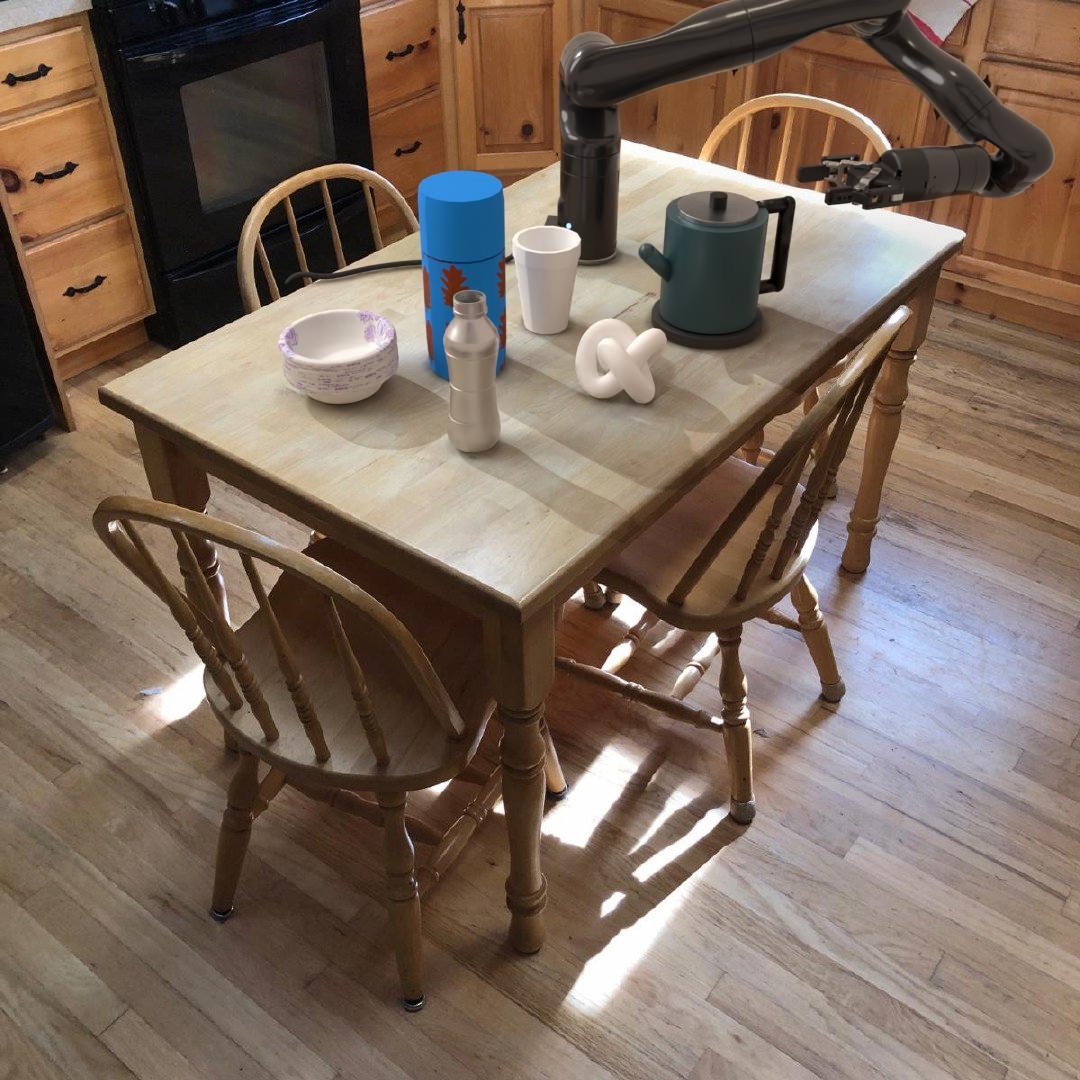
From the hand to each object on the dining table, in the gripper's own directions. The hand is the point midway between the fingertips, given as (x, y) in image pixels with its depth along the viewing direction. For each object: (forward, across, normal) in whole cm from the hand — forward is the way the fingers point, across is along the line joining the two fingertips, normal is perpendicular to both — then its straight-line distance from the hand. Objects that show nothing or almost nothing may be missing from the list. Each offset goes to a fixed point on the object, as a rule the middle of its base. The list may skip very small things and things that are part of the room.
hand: (812, 185), depth 163 cm
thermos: (+50, +2, +20) cm, 54 cm away
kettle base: (+14, 0, +19) cm, 24 cm away
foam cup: (+36, -6, +20) cm, 42 cm away
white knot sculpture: (+32, +16, +20) cm, 41 cm away
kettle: (+13, 0, +17) cm, 22 cm away
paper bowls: (+67, +4, +20) cm, 70 cm away
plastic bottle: (+54, +22, +20) cm, 61 cm away
